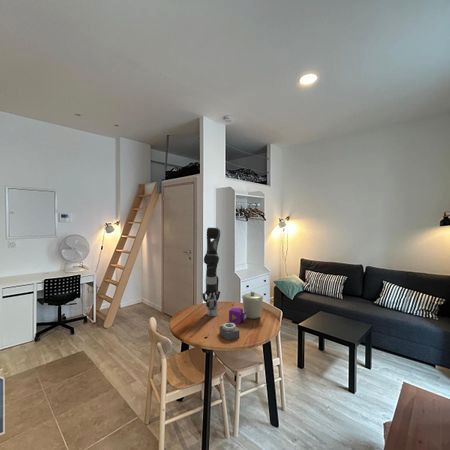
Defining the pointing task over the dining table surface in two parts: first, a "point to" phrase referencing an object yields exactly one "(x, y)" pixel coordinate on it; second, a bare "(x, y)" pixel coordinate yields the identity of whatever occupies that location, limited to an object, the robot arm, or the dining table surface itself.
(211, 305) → the lens
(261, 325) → the dining table surface
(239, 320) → the toy camera
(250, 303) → the canister
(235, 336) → the camera body
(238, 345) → the dining table surface
